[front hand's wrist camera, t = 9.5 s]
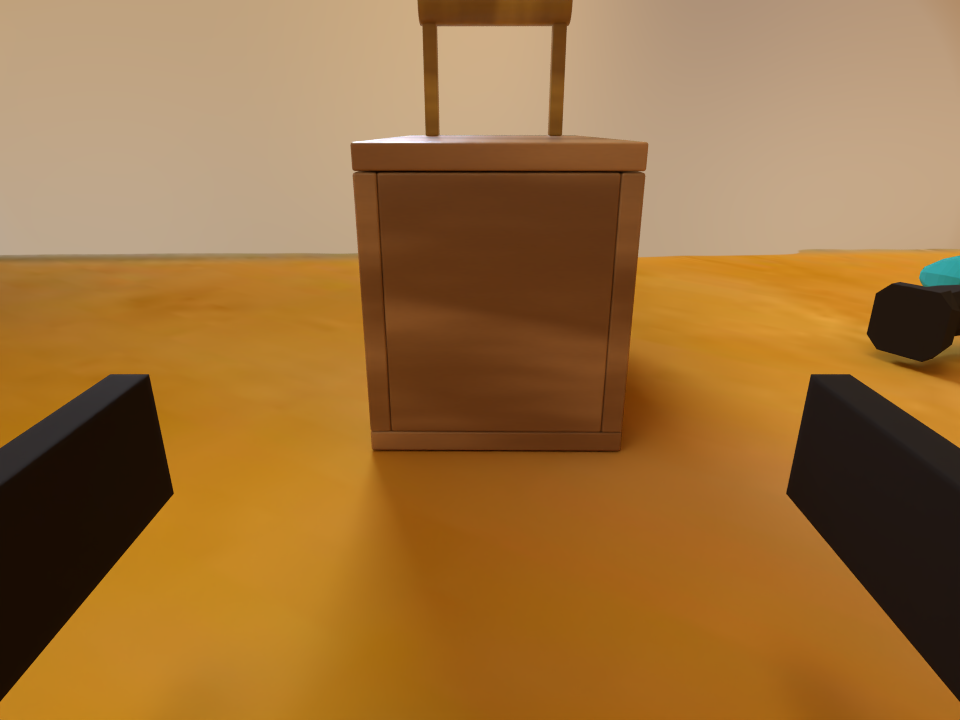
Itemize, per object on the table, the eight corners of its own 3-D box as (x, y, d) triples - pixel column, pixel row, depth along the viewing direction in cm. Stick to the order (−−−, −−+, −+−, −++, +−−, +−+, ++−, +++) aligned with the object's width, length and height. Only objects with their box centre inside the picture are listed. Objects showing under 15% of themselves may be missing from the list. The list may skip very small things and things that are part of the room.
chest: (416, 323, 39) (409, 152, 36) (567, 323, 39) (576, 152, 36) (371, 450, 24) (352, 172, 20) (620, 451, 24) (646, 172, 20)
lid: (411, 151, 36) (405, -9, 33) (575, 151, 36) (583, -10, 33) (351, 171, 20) (330, -137, 17) (646, 171, 20) (675, -137, 17)
